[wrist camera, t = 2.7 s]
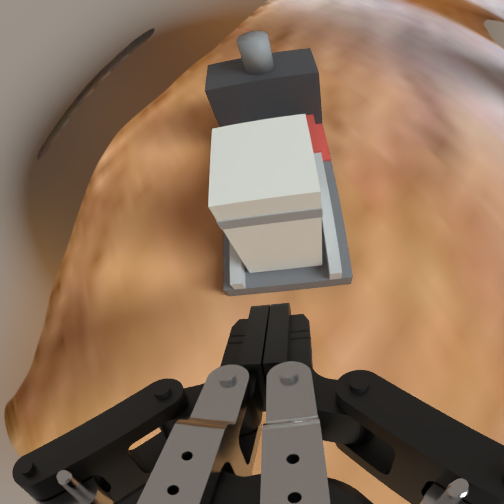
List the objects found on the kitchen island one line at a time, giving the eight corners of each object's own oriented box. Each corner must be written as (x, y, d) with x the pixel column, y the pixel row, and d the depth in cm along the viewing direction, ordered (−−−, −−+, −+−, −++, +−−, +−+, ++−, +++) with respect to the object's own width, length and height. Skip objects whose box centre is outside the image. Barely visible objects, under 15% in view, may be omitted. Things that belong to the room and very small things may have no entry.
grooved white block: (322, 265, 21) (321, 192, 13) (249, 273, 22) (207, 207, 14) (314, 201, 24) (306, 113, 15) (247, 210, 24) (211, 128, 16)
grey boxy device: (350, 283, 22) (369, 209, 13) (229, 296, 24) (168, 235, 14) (315, 107, 30) (306, 19, 20) (229, 120, 31) (198, 38, 22)
